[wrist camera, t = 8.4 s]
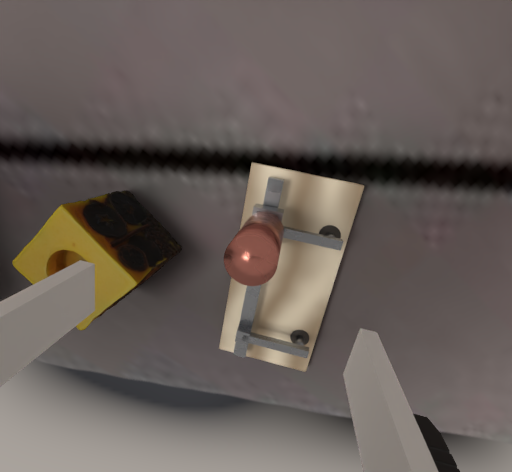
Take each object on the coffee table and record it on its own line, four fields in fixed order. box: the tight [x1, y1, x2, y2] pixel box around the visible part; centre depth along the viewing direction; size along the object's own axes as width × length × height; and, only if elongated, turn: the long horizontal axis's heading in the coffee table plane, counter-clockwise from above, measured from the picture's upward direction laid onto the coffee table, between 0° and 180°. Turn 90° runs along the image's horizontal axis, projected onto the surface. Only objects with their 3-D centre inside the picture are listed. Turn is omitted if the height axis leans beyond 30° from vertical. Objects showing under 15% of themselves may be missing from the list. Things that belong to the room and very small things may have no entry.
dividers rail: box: [233, 176, 309, 358], centre depth 32 cm, size 9×23×3 cm, turn 169°
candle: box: [13, 191, 182, 330], centre depth 31 cm, size 10×10×10 cm
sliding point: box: [224, 203, 343, 286], centre depth 25 cm, size 10×4×11 cm, turn 79°
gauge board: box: [219, 162, 364, 372], centre depth 33 cm, size 12×25×1 cm, turn 169°
